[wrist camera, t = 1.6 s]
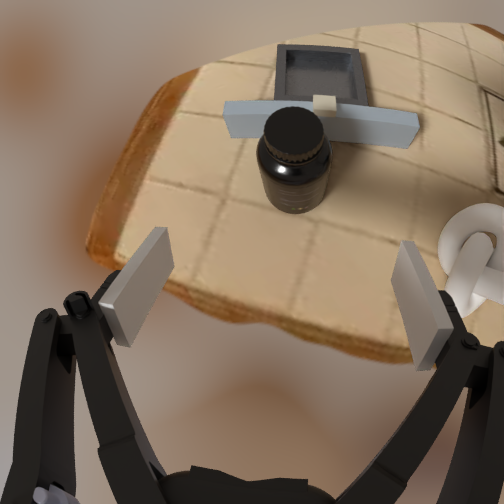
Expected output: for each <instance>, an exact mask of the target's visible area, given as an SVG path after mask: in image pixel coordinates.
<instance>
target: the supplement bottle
mask: <svg viewBox="0 0 504 504" xmlns="http://www.w3.org/2000/svg"><path fill="white" fill-rule="evenodd" d="M256 156H257V162H258V166H259V170H260V174H261V178H262V181H263V185H264V189H265V192H266V195H267V197H268V199H269V201H270V202H271V203H272V204H273V205H274V206H275V207H276V208H277V209H279V210H281V211H283V212H286V213H290V214H301V213H305V212H308V211H310V210H312V209H314V208H315V207H316V206H317V205H318V204H319V203H320V202H321V200H322V198H323V196H324V194H325V190H326V186H327V181H328V177H329V172H330V168H331V163H332V147H331V144H330V141H329V139H328V138H327V136H326V135H325V133H324V128H323V124H322V123H321V120H320V119H319V118H318V116H317V115H315V114H314V112H311V111H310V110H309V109H305V108H303V107H298V106H297V107H294V106H291V107H285V108H281V109H279V110H276V111H275V112H274V113H272V114H271V116H269V117H268V119H267V120H266V124H265V125H264V130H263V135H262V136H261V138H260V140H259V142H258V145H257V150H256Z"/></svg>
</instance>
